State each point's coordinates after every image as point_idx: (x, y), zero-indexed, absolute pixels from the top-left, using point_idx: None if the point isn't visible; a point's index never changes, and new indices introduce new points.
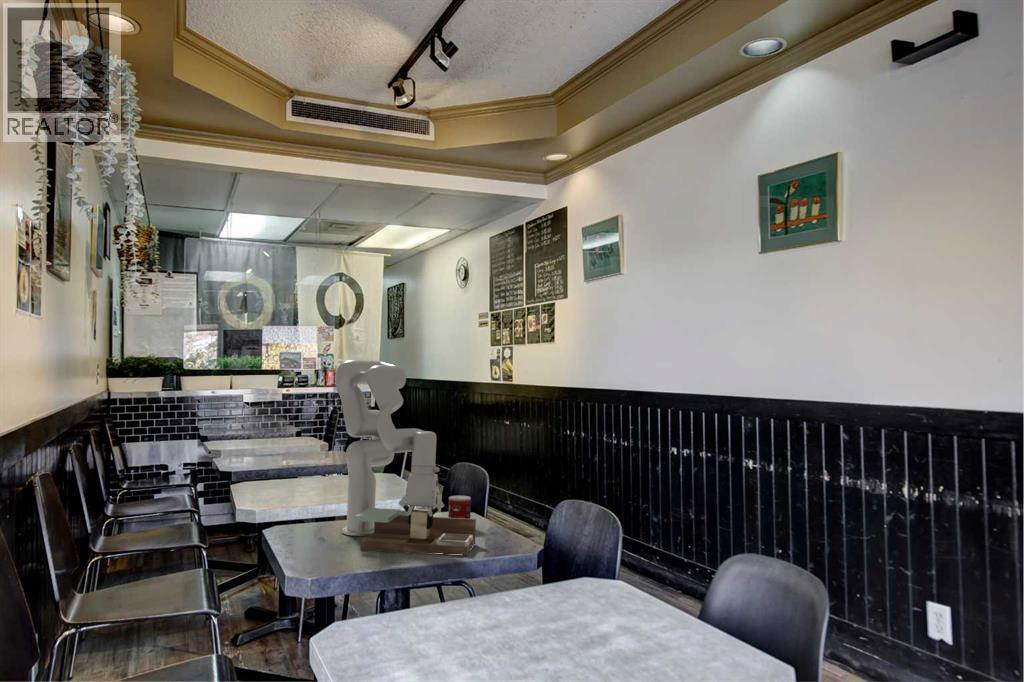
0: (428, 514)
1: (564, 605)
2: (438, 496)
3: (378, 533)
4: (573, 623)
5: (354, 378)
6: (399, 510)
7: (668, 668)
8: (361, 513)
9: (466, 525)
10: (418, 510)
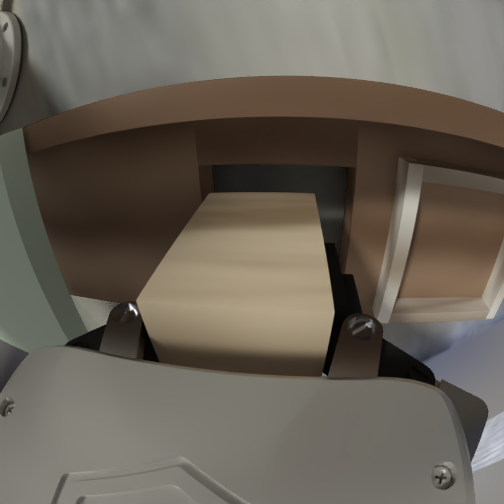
0: (323, 370)
1: (498, 433)
2: (461, 495)
3: (40, 164)
4: (480, 452)
5: None
6: (2, 165)
7: (490, 463)
8: None
9: None
10: (201, 356)
